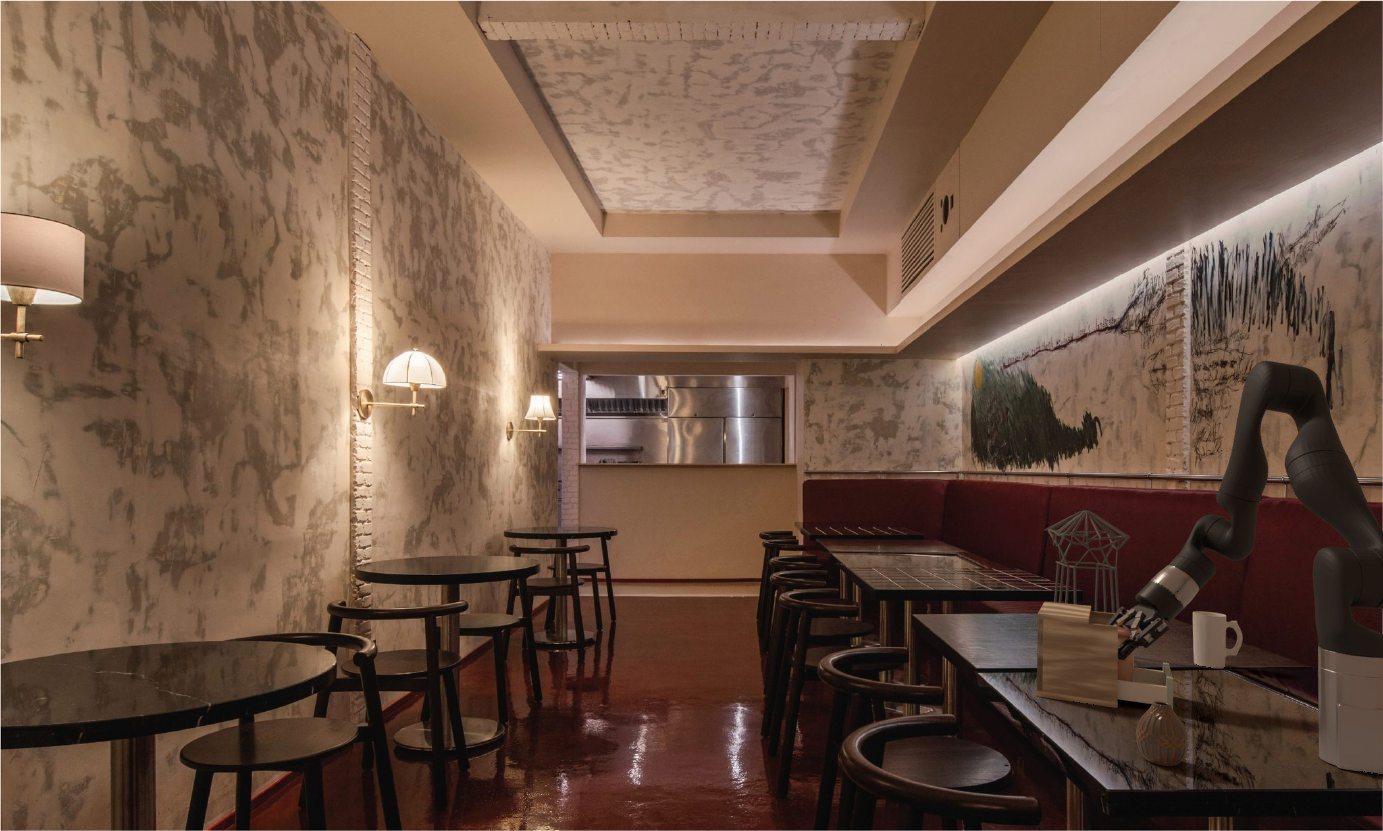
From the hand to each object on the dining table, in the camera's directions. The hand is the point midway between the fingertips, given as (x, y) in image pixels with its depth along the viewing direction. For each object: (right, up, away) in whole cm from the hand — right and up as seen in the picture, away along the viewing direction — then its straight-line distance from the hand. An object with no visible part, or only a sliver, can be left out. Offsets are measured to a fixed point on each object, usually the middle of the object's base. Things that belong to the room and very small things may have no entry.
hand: (1109, 652), depth 166 cm
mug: (+41, -12, +31) cm, 53 cm away
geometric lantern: (+13, -11, +37) cm, 41 cm away
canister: (+2, -6, 0) cm, 6 cm away
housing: (-5, -9, +3) cm, 10 cm away
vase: (-11, -6, -38) cm, 40 cm away
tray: (+4, -8, -1) cm, 9 cm away
